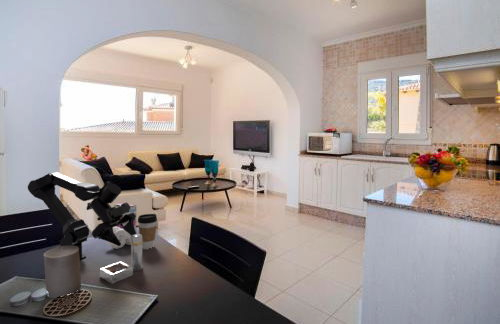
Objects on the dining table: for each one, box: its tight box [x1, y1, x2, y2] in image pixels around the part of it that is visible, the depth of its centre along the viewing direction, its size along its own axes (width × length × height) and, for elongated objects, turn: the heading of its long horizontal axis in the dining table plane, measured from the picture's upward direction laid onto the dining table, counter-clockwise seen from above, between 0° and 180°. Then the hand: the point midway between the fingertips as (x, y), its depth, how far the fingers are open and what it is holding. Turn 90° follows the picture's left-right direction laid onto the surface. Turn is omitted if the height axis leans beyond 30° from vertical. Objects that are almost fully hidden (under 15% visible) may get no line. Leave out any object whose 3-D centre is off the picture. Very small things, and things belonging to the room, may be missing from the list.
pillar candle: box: [43, 246, 82, 299], centre depth 95 cm, size 10×10×15 cm
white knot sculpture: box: [106, 227, 131, 250], centre depth 135 cm, size 11×12×9 cm
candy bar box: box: [113, 202, 137, 232], centre depth 147 cm, size 11×5×16 cm, turn 62°
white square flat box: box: [99, 261, 134, 284], centre depth 106 cm, size 8×8×3 cm
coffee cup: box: [137, 213, 158, 250], centre depth 134 cm, size 8×8×15 cm
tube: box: [130, 233, 143, 272], centre depth 112 cm, size 4×4×13 cm
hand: (128, 241), depth 113 cm, fingers open, 9 cm apart
